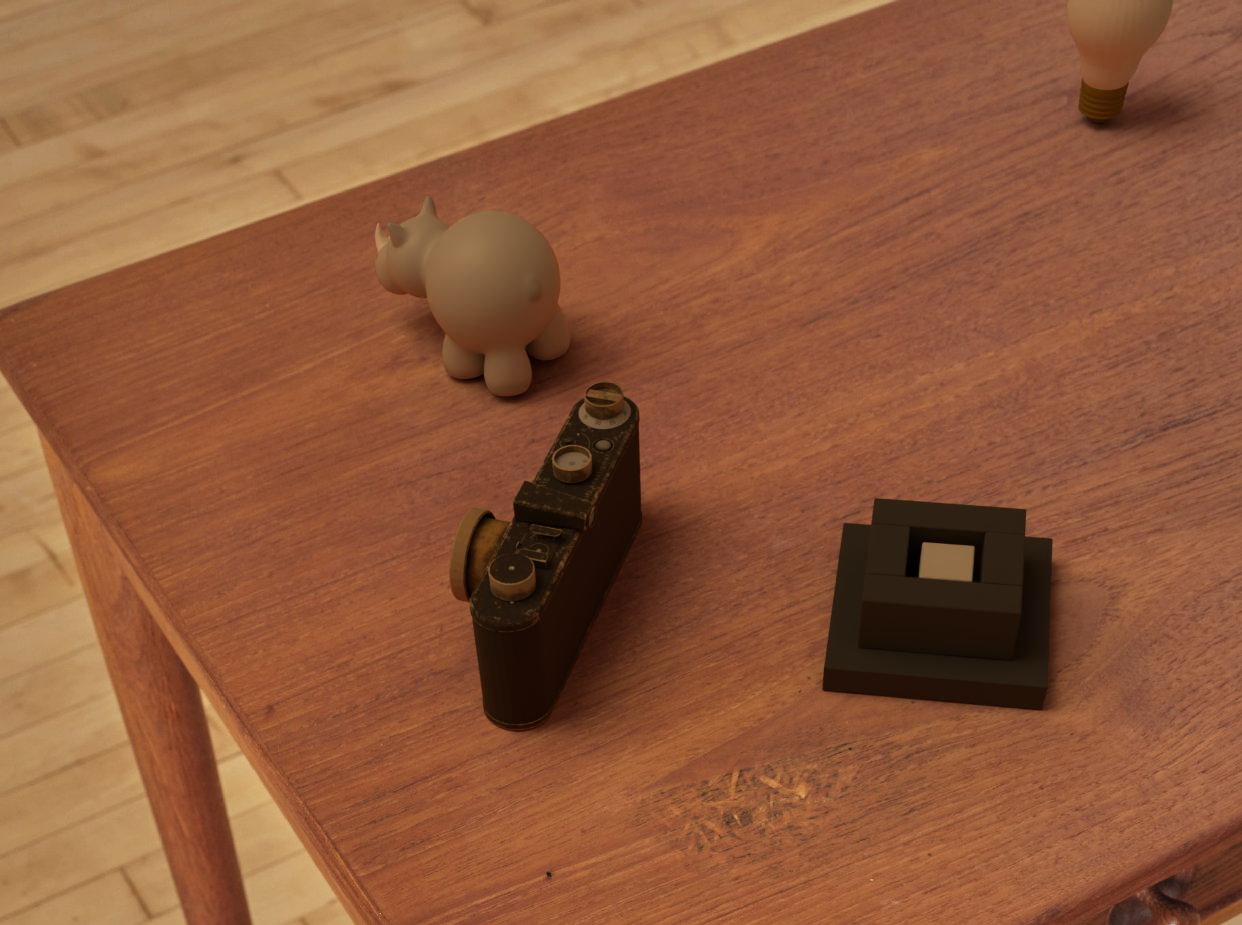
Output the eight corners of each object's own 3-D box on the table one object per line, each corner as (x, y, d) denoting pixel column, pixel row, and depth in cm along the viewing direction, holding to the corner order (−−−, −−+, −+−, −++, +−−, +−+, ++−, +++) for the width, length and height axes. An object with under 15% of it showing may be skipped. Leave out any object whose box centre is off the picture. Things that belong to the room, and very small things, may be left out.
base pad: (1047, 561, 88) (1061, 497, 85) (1042, 710, 82) (1056, 647, 79) (841, 545, 90) (847, 481, 87) (822, 690, 84) (827, 628, 81)
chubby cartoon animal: (432, 279, 105) (414, 142, 99) (592, 351, 100) (585, 211, 94) (348, 342, 102) (323, 204, 96) (509, 419, 97) (495, 279, 90)
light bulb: (1049, 146, 110) (1078, -22, 101) (1047, 94, 113) (1074, -72, 105) (1150, 147, 109) (1186, -21, 101) (1144, 95, 112) (1179, -72, 104)
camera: (536, 487, 94) (525, 356, 88) (659, 509, 92) (656, 378, 86) (416, 710, 85) (394, 582, 79) (549, 740, 83) (537, 612, 77)
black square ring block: (1017, 557, 86) (1026, 508, 84) (1011, 661, 82) (1021, 613, 80) (869, 545, 87) (874, 497, 85) (856, 648, 83) (862, 600, 81)
